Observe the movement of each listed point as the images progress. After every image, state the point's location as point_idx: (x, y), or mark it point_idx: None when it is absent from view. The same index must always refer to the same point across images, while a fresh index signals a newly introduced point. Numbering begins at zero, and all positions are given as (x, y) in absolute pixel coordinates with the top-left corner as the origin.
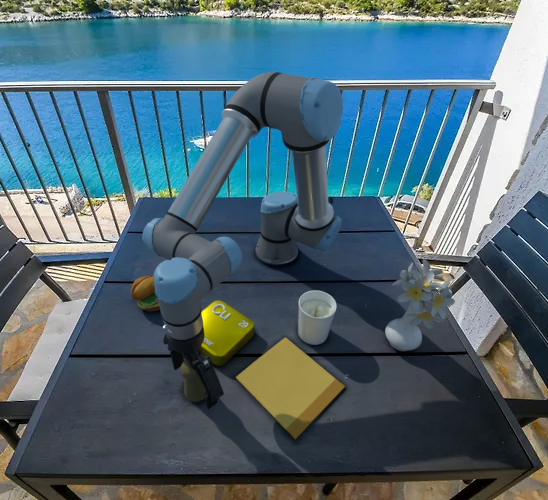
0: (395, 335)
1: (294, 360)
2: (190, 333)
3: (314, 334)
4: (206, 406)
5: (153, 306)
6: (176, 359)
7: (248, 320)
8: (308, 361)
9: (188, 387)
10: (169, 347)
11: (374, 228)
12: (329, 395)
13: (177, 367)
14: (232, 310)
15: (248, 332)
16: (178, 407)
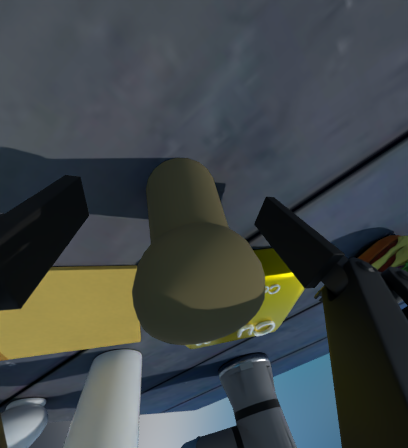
0: None
1: (90, 337)
2: None
3: (87, 394)
4: (73, 180)
5: (386, 256)
6: (289, 233)
7: (201, 346)
8: (72, 347)
9: (179, 189)
10: (383, 290)
11: (177, 406)
12: None
13: (266, 207)
14: (239, 337)
15: None
16: (181, 115)
